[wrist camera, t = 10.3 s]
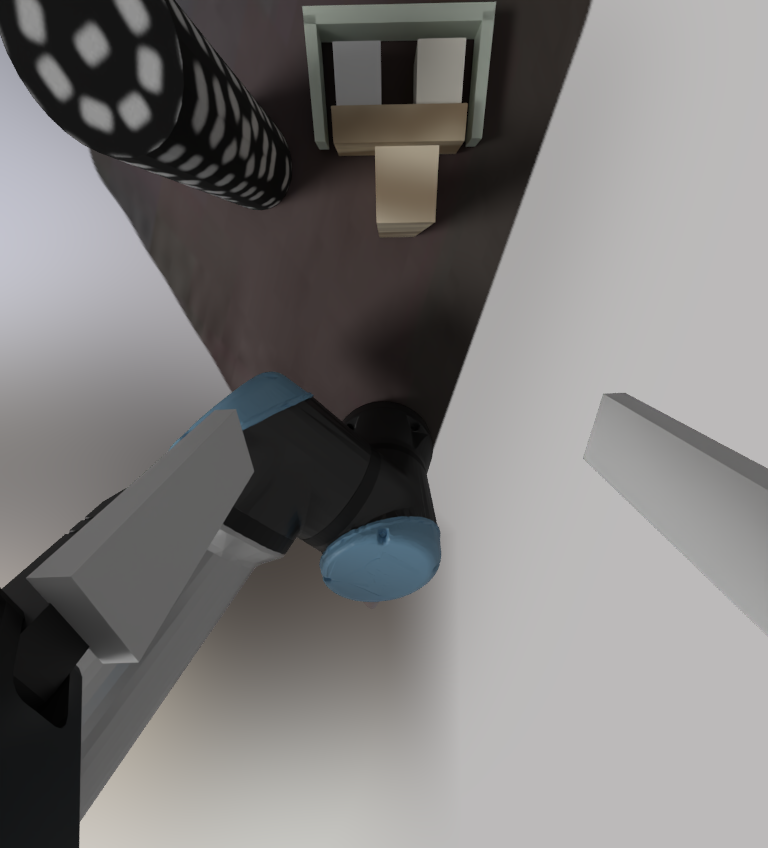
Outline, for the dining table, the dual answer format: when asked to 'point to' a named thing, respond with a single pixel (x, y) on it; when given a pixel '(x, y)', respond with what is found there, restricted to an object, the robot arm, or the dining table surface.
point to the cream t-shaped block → (401, 156)
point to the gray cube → (357, 72)
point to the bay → (400, 26)
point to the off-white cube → (439, 70)
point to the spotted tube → (147, 94)
